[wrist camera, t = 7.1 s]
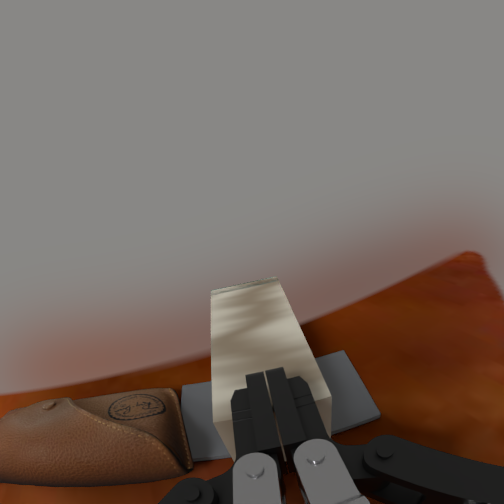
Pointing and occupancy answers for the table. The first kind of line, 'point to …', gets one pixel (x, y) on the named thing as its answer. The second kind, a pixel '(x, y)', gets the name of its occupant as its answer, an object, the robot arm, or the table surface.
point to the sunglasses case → (96, 441)
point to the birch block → (257, 349)
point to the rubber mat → (342, 412)
